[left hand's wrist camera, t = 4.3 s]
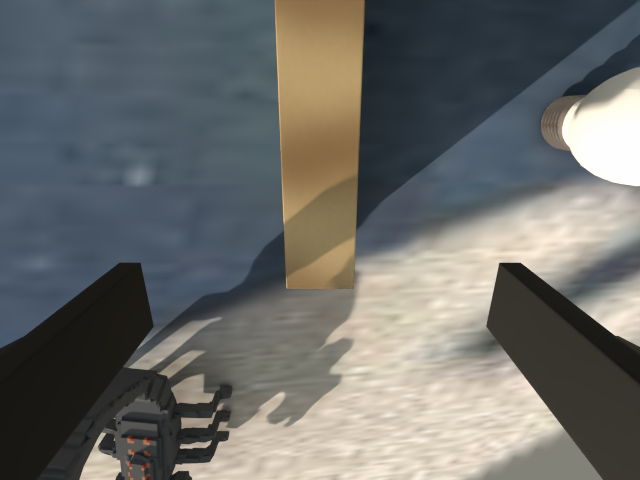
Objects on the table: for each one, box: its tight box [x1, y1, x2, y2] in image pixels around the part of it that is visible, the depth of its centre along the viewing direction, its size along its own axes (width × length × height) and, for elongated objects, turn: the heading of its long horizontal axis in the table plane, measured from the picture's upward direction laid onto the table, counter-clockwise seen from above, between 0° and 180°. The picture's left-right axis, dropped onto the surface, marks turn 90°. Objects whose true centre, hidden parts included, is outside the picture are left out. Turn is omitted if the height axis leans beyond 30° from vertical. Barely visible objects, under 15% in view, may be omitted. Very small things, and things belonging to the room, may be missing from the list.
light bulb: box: [541, 67, 640, 186], centre depth 21 cm, size 7×7×11 cm
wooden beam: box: [275, 0, 365, 289], centre depth 20 cm, size 26×4×10 cm, turn 0°
